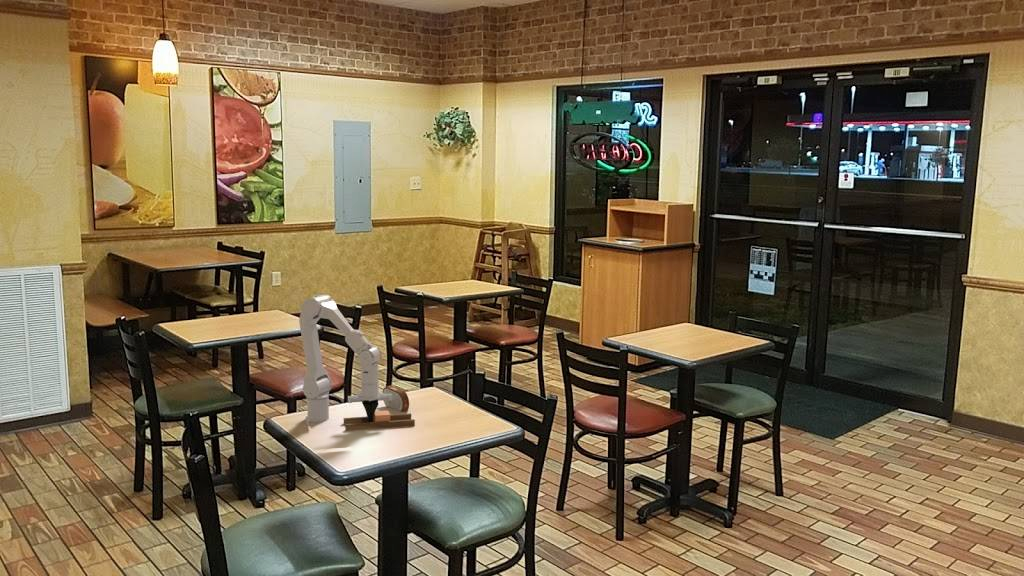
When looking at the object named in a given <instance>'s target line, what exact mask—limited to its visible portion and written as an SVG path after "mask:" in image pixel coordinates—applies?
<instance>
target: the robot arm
mask: <svg viewBox="0 0 1024 576" xmlns="http://www.w3.org/2000/svg"><path fill="white" fill-rule="evenodd" d="M336 303H337V302H335V301H334V300H333V298H332V297H331V296H330V295H328V294H326V293H322V294H320V295H317V296H314V297H308V298H306V299H304V301H303V302H302V303H301V305H300V308H301V311H300V314H299V319H298V321H299V328H300V329H299V330H300V334H301V341H302V347H303V348H302V349H303V352H304V358H305V359H304V360H305V366H306V372H305V374H304V376H303V385H302V391H303V394H304V396H305V397H306V406H307V407H306V409H307V413H306V416H305V421H306V425H307V426H311V422H312V423H322V422H325V421H328V420H329V419H330V417H329V416H330V410H329V407H330V405H329V400H330V399H329V398H330V397H329V395H330V391H331V390H332V387H333V382H332V379H331V377H330V376H329V372H328V370H327V369H326V368H324V364H323V363H324V362H323V357H322V351H321V346H320V340H319V339H320V338H319V331H318V326H317V323H318V322H319V320H320V319H327V320H329V321H330V322H331V323H332V324H333V325H334V326H335V327H336V328H337V329H338V330H339V331H340V332H341V333H342V334H343V335H344V340H345V341H344V342H345V343H346V344H347V345H348V346H349V347H350V348H351V350H352V351H353V352H354V353H355V354H356V356H357V361H358V363H359V364H360V365H359V366H360V370H361V371H360V373H361V376H360V377H361V379H360V380H361V381H360V384H361V385H360V386H361V389H360V390H361V391H360V393H361V394H355V395H347V403H348V404H352V403H362V405H363V408H364V410H365V413H366V416H367V417H368V423H369V422H373V417H374V413H375V411H377V409H378V406H379V401H382V402H383V400H389V401H391V400H392V394H383V392H382V393H380V392H379V391H380V390H379V389H380V388H379V384H380V383H379V362H380V360H381V359H382V352H381V350H380V348H379V346H376V345H373V344H372V343H371V342H370V341H369V340H367V338H366V337H365V336H364V332H363V331H360V330H359V329H354V328H353V327H352V325H350V323H349V322H348V321H347V319H346V318H345V317H344V315H343V314H342V312H341V311H340V310H339V308H338V306H337V304H336Z"/></svg>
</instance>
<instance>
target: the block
mask: <svg viewBox="0 0 1024 576" xmlns="http://www.w3.org/2000/svg"><path fill="white" fill-rule="evenodd" d="M390 415H391V413H390V411H389V410H378V411H377V410H376V411H375V413H374V422H383V421H390Z"/></svg>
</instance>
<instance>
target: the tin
mask: <svg viewBox="0 0 1024 576" xmlns="http://www.w3.org/2000/svg"><path fill="white" fill-rule="evenodd" d="M382 394H392V400H391V401H389V400H382V402H384V405H385V406H386V408H393V409H396V410H398V411H400V412H405V411H406V412H407V411H409V409H410V400H409V396H408V394H407V392H406V391H405V390H404V389H403V388H399V387H397V386H395V385H392V384H390V385H387V386H385V387H383V390H382Z"/></svg>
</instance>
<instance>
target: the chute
mask: <svg viewBox="0 0 1024 576" xmlns="http://www.w3.org/2000/svg"><path fill="white" fill-rule="evenodd" d="M415 424H416V420H415V419H412V413H411V412H410V413H399V414H390V421H383V422H374V417H373V422H369V423H368V417H367V415H366V416H356V417H355V416H353V417H352V416H351V417H343V426H344V429H345V432H348V431H362V430H363V431H364V430H377V429H378V430H379V429H387V428H388V429H389V428H390V429H391V428H402V427H405V428H406V427H415V426H416V425H415Z"/></svg>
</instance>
